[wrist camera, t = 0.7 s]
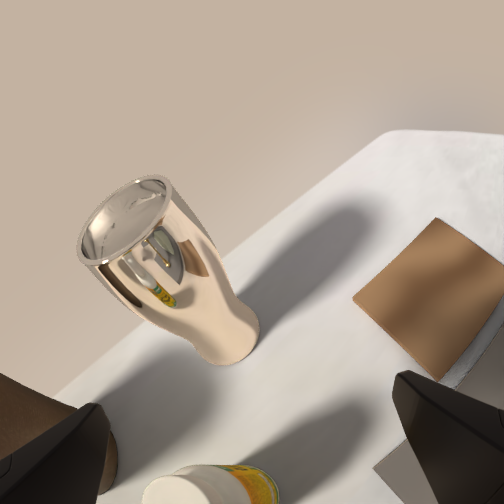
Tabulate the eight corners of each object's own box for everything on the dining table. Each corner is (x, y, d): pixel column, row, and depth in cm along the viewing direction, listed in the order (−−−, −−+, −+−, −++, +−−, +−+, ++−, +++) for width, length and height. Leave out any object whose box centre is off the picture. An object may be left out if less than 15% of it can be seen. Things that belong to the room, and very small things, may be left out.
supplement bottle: (223, 530, 14) (144, 556, 7) (204, 473, 18) (120, 469, 11) (291, 516, 14) (243, 553, 7) (268, 455, 18) (208, 452, 11)
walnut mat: (512, 278, 18) (514, 274, 18) (437, 382, 17) (439, 380, 16) (435, 221, 25) (435, 217, 25) (352, 300, 24) (352, 297, 23)
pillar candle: (95, 396, 25) (-25, 329, 15) (135, 472, 19) (-20, 433, 8) (50, 439, 23) (-59, 390, 12) (81, 510, 17) (-51, 482, 6)
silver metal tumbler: (257, 374, 22) (142, 265, 12) (184, 366, 25) (56, 270, 14) (270, 299, 26) (192, 160, 16) (202, 299, 29) (107, 185, 18)
